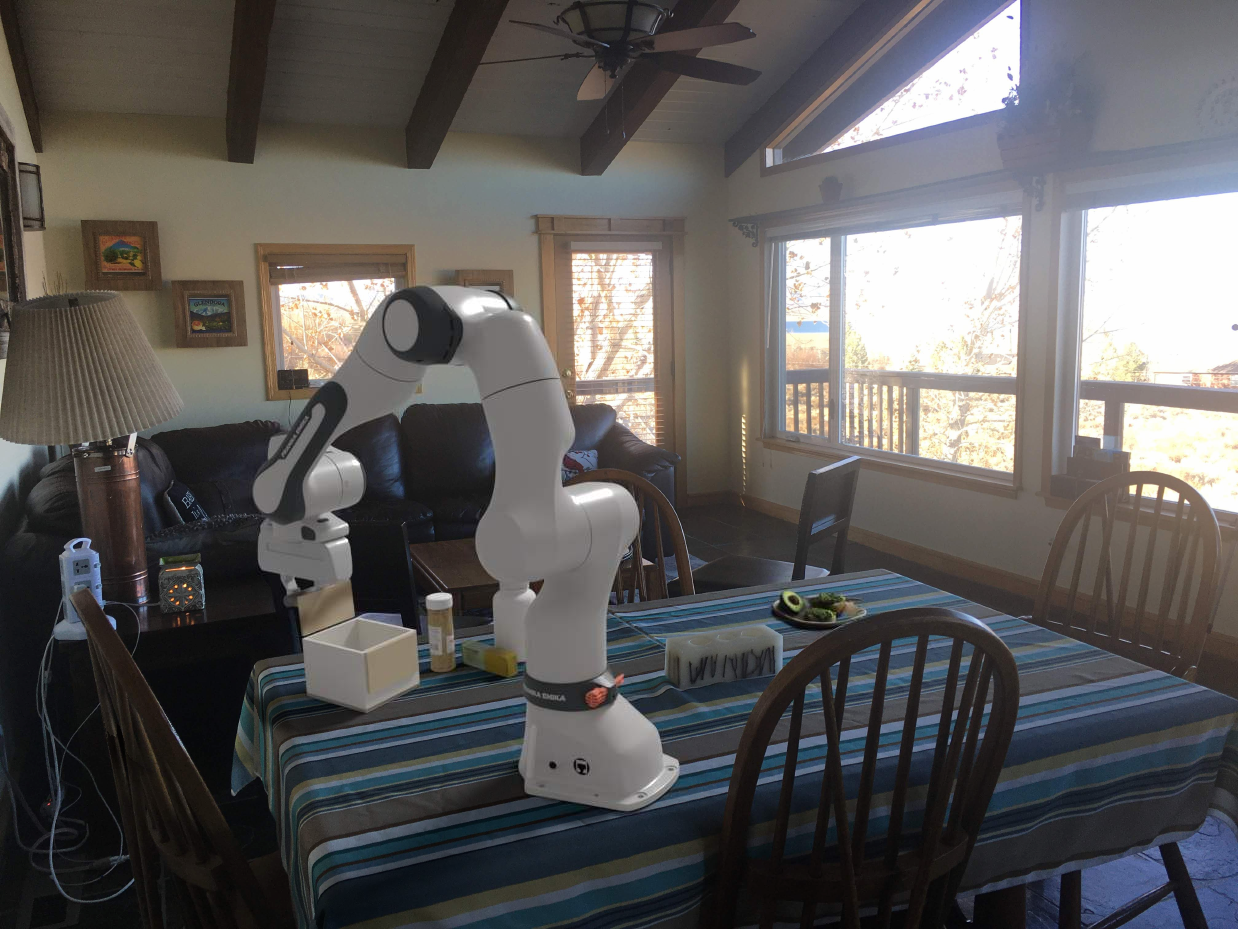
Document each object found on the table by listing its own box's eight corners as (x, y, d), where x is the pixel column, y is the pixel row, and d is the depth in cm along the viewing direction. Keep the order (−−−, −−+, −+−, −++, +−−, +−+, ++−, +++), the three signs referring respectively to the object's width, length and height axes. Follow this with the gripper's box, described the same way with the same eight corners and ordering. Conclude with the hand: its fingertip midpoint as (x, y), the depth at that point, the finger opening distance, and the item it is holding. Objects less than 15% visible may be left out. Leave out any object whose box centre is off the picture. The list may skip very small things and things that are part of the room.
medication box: (460, 664, 167) (459, 643, 166) (472, 659, 169) (470, 638, 169) (508, 679, 160) (506, 657, 159) (519, 674, 162) (517, 652, 161)
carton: (422, 687, 157) (418, 630, 155) (368, 714, 147) (364, 654, 145) (361, 671, 164) (357, 617, 163) (307, 696, 154) (302, 638, 153)
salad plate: (839, 595, 201) (840, 575, 200) (889, 621, 184) (890, 598, 183) (760, 607, 194) (760, 586, 193) (804, 635, 178) (804, 612, 177)
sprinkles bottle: (460, 669, 164) (456, 596, 162) (436, 675, 162) (431, 601, 159) (450, 661, 168) (445, 590, 166) (426, 667, 165) (421, 595, 163)
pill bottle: (546, 657, 169) (543, 577, 166) (507, 667, 164) (503, 586, 162) (525, 644, 175) (522, 568, 173) (487, 654, 171) (483, 576, 168)
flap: (350, 580, 161) (329, 577, 164) (299, 597, 152) (277, 594, 155) (354, 616, 162) (333, 613, 165) (304, 636, 153) (282, 632, 156)
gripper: (245, 520, 160) (252, 597, 163) (325, 534, 150) (332, 615, 152) (275, 513, 166) (282, 587, 168) (355, 525, 155) (361, 604, 157)
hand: (306, 601), depth 160 cm, fingers open, 5 cm apart
